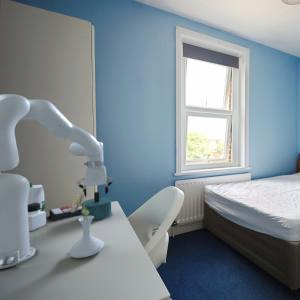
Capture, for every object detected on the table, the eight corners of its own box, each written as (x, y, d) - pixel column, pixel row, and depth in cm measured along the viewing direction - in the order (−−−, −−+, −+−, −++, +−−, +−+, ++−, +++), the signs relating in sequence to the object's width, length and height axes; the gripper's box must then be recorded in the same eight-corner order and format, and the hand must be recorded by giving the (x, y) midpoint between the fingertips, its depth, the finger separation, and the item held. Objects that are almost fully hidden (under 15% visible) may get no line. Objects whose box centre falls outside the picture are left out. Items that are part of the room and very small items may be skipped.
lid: (113, 204, 113) (112, 193, 113) (80, 209, 105) (79, 197, 105) (111, 198, 125) (110, 187, 125) (81, 202, 118) (81, 191, 117)
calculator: (86, 207, 120) (53, 213, 109) (86, 214, 121) (53, 221, 109) (80, 203, 127) (49, 208, 116) (80, 210, 128) (49, 216, 116)
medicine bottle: (46, 224, 105) (45, 201, 105) (32, 231, 98) (31, 206, 98) (34, 224, 106) (32, 201, 105) (18, 230, 99) (17, 205, 98)
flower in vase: (74, 247, 84) (72, 187, 82) (106, 242, 88) (104, 185, 86) (62, 266, 72) (59, 196, 70) (100, 260, 76) (97, 193, 74)
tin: (112, 218, 114) (111, 203, 113) (82, 224, 106) (81, 208, 106) (110, 211, 125) (110, 197, 125) (83, 215, 118) (82, 201, 117)
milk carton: (22, 219, 112) (19, 183, 110) (44, 215, 118) (42, 180, 117) (23, 224, 106) (20, 185, 104) (46, 219, 112) (44, 183, 111)
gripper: (75, 165, 106) (76, 199, 107) (113, 164, 115) (114, 194, 116) (76, 164, 112) (77, 195, 113) (112, 162, 121) (113, 191, 122)
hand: (96, 195), depth 114 cm, fingers open, 9 cm apart
